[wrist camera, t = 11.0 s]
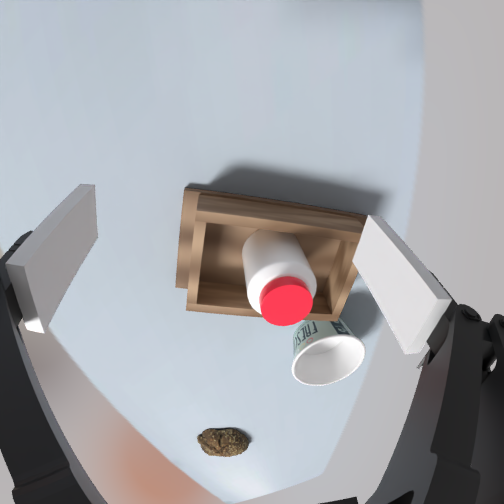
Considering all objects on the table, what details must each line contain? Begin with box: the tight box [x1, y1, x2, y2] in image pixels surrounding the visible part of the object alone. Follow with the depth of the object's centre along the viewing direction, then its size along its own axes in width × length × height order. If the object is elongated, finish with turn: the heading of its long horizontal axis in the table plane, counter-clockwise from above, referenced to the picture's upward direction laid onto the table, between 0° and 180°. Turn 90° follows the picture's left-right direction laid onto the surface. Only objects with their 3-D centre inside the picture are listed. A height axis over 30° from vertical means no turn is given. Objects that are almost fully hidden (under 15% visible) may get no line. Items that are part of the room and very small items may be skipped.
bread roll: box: [197, 429, 249, 457], centre depth 66 cm, size 13×12×5 cm
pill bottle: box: [242, 229, 317, 326], centre depth 37 cm, size 8×8×11 cm
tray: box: [176, 188, 367, 321], centre depth 40 cm, size 14×24×6 cm, turn 79°
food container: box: [292, 318, 366, 386], centre depth 49 cm, size 12×12×6 cm
